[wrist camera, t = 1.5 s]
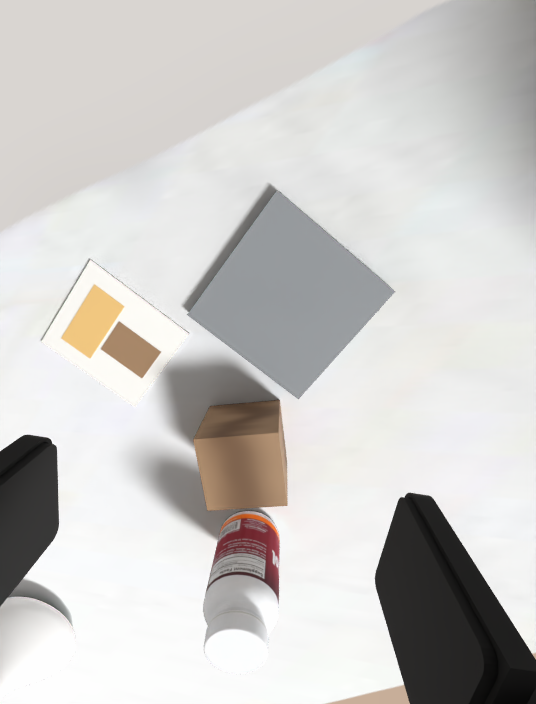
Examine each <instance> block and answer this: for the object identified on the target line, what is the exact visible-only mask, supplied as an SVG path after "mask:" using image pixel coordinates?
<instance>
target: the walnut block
mask: <svg viewBox="0 0 536 704" xmlns="http://www.w3.org/2000/svg"><path fill="white" fill-rule="evenodd" d="M193 441H194V446H195V451H196V456H197V461H198V466H199V471H200V476H201V481H202V486H203V491H204V496H205V501H206V506H207V511H212V510H227V509H243V508H259V507H274V506H287V458H286V449H285V441H284V432H283V424H282V415H281V407H280V400H273V401H262V402H251V403H239V404H228V405H217V406H210V407H209V409H208V411H207V413H206V415H205V417H204V419H203V421H202V423H201V425H200V427H199V429H198V431H197V433H196V435H195V437H194V439H193Z"/></svg>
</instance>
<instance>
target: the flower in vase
mask: <svg viewBox="0 0 536 704" xmlns="http://www.w3.org/2000/svg"><path fill="white" fill-rule="evenodd" d="M74 652H75V633H74V630H73V628H72V626H71V624H70V622H69V621H68V619H67V618H66V617H65V616H64V615H63V614H62V613H61V612H60V611H58V610H57V609H55V608H54V607H52V606H51V605H49V604H47V603H45V602H42V601H40V600H37V599H33V598H28V597H8V598H7V599H6V600H5V601H4V603H3V604H2V605H1V607H0V699H1V698H2V697H3V696H4V695H5V694H7V693H9V692H10V691H12V690H15V689H17V688H20V687H23V686H27V685H30V684H32V683H35V682H38V681H41V680H44V679H46V678H48V677H49V676H51V675H53V674H55V673H57V672H59V671H60V670H61V669H62V668H63V667H64V666H65V665H66V664H67V663H68V662H69V661H70V660H71V658H72V657H73V655H74Z"/></svg>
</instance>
